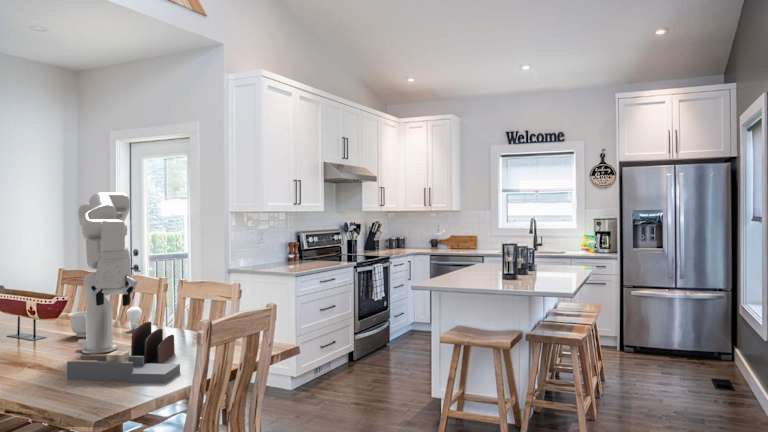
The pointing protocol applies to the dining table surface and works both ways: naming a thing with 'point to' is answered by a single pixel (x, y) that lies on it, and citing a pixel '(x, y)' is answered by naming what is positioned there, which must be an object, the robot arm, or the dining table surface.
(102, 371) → the grey stepped platform
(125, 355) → the birch block
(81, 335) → the teacup
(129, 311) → the light bulb
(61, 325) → the dining table surface
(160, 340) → the letter holder
